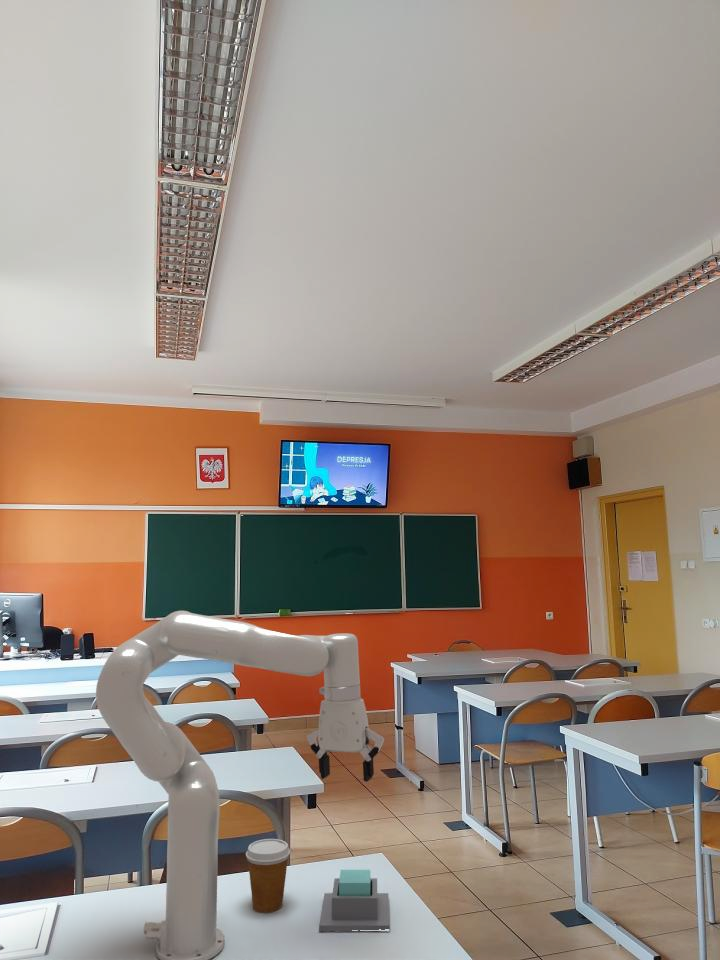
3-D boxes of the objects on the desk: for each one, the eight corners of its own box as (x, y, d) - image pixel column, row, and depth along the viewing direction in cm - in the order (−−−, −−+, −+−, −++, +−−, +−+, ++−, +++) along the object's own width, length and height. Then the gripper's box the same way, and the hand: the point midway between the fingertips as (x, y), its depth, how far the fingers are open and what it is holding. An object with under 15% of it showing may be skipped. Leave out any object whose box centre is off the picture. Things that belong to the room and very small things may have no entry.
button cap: (339, 903, 139) (338, 882, 140) (340, 889, 145) (340, 869, 146) (370, 903, 139) (370, 882, 139) (370, 889, 145) (370, 869, 146)
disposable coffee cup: (295, 911, 143) (295, 850, 145) (250, 920, 140) (251, 857, 142) (283, 892, 152) (283, 835, 154) (241, 900, 149) (241, 841, 150)
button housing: (319, 932, 135) (318, 903, 136) (324, 899, 149) (324, 873, 149) (389, 932, 134) (389, 903, 135) (388, 899, 148) (388, 873, 149)
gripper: (298, 696, 144) (301, 781, 141) (374, 697, 137) (379, 786, 135) (313, 689, 150) (316, 770, 148) (387, 691, 144) (391, 775, 142)
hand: (346, 778), depth 142 cm, fingers open, 9 cm apart
